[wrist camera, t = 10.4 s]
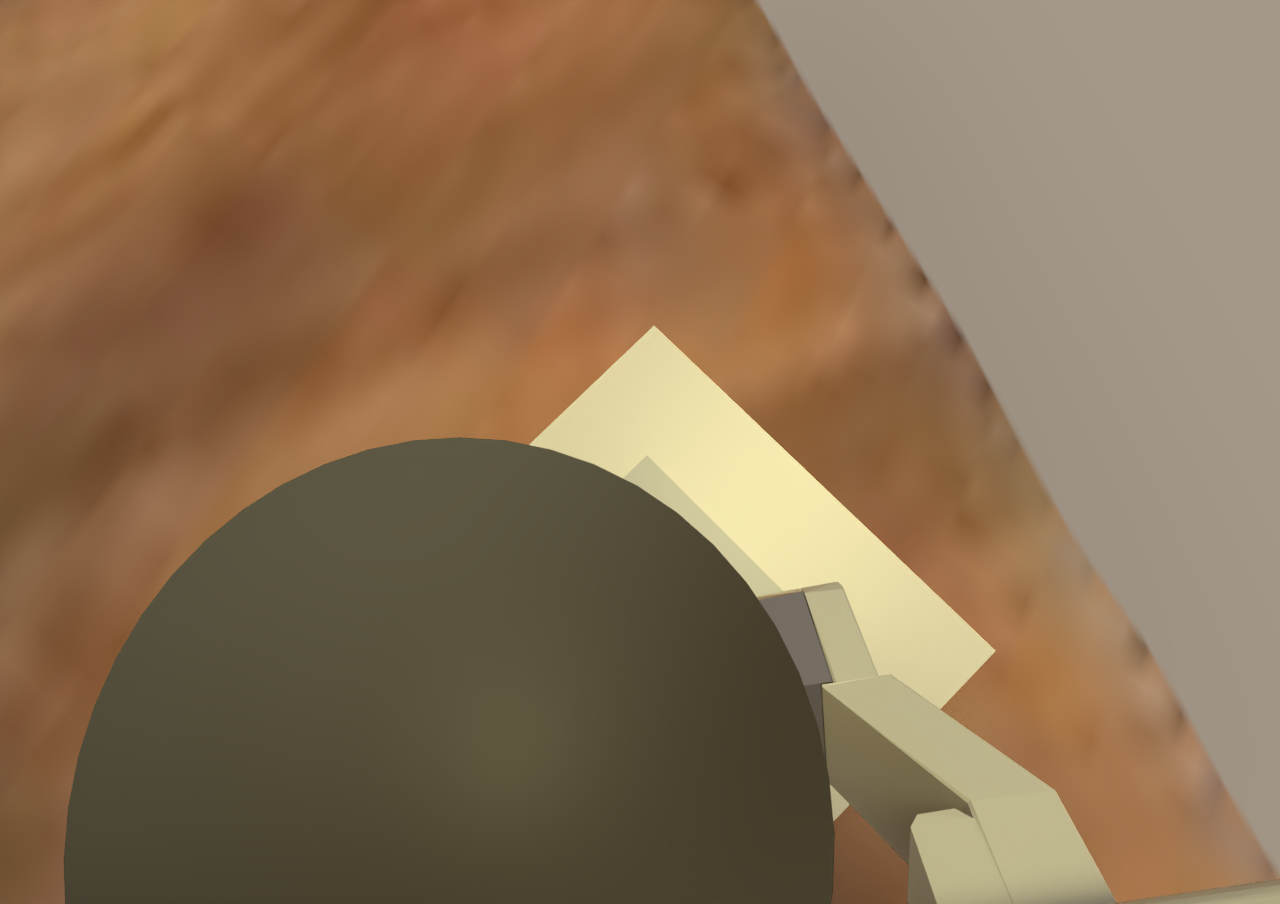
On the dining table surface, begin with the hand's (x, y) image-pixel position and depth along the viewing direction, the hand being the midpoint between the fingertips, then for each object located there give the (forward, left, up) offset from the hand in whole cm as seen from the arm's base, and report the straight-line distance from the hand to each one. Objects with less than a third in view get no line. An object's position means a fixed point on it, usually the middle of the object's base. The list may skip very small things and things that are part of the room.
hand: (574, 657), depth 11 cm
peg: (+1, 0, -7) cm, 7 cm away
